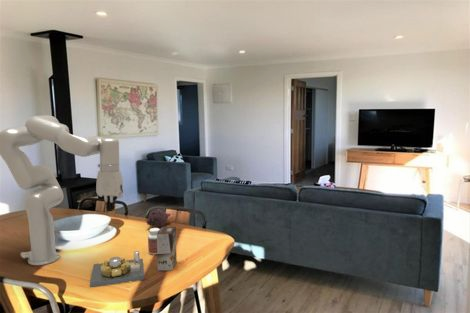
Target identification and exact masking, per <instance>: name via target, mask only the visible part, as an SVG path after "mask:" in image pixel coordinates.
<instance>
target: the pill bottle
mask: <svg viewBox="0 0 470 313" xmlns="http://www.w3.org/2000/svg"><path fill="white" fill-rule="evenodd" d="M160 229H161V228H158V227H153V228H149V230H148V232H149V234H148V235H147V248H148V254H150V255H157V233H158V231H159V230H160Z"/></svg>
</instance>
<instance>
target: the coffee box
mask: <svg viewBox="0 0 470 313" xmlns="http://www.w3.org/2000/svg"><path fill="white" fill-rule="evenodd" d="M160 227H161V228H159V229H160V230H159V231H158V233H157V254H156V255H157V256H156V257H157V271H173V270H174V267H175V265H176V263H177V260H178V259H177V256H178V255H177V227H176V226H160Z"/></svg>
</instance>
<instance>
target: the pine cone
mask: <svg viewBox="0 0 470 313" xmlns="http://www.w3.org/2000/svg"><path fill="white" fill-rule="evenodd" d="M169 217H171V213H166V212H165V211H164V210H163V209H160V208H156V209H153V210H151V212H150V214H149V216H148V217H147V220H146V224H147V225H148V226H155V227H156V226H157V227H164V226H165V225H166V223H167V220H168V218H169Z"/></svg>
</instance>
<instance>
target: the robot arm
mask: <svg viewBox="0 0 470 313" xmlns="http://www.w3.org/2000/svg"><path fill="white" fill-rule="evenodd" d="M69 129H70V128H69V127H68V126H67V125H66V124H64V123H60V121H59V120H58V118H56V116H54V115H53V116H52V115H49V114H48V115H47V114H45V115H34V116H30V117H29V118H28V119H27V120H26V121H25V124H24V126H16V127H15V126H14V127H7V128H5V129H3V130H1V131H0V157H1V159H2V160H3V161H4V162H5V164H6V165H7V167H8V169H9V171H10V173H11V175H12V177H13V179H14V180H15V182H16V184H17V185H18V187H19V188H20V189H21V190H24V191H28V190H33V189H36V188H39V189H37V190H34V191H31V192H30V193H28V194H27V196H25V198H24V201H23V204H24V208H25V211H26V214H27V221H28V227H29V230H28V231H29V239H30V240H29V242H30V250H29V251H25V252H24V251H22V252H20V257H21V258H22V259H27V262H28V264H29V265H31V266H44V265H49V264H52V263H54V262H57V261H58V260H59V259H60V258H61V255H60V252H58V251H56V238H55V225H54V223H55V222H54V218H53V215H52V214H51V212H50V210H51V208H54V207H57V206H58V205H60V204H61V203H62V202H63V200H64V192H63V189H62V187H61V186H60V184H59V182H58V180H57V178H56V175H54V172H53V171H52V170H51V168H49V167H48V166H46V165H44V164H37V165H33V163H32V162H31V160H30V158H29V157H28V155H27V154H26V153H25V152H24V151H23V150H21V149H20V148H21V147H26V146H27V147H29V146H32V145H36V144H39V143H40V142H42V141H44V140H46V141H48V142H50V143H53V144H57V146H58V147H59V148H60V149H61V150H62V151H64V152H66V153H68V154H69V153H70V154H71V155H75V156H78V157H85V158H86V157H91V156H95V155H98V154H99V164H97V168H99V170H98V171H97V176H96V183H95V184H96V186H95V187H96V188H95V189H96V190H95V191H96V194H97V196H98V197H100V198H103V200H104V202H105V208H106V212H113V211H114V210H115V206H116V201H117V200H119V199H122V198H123V192H124V183H123V182H124V181H123V176H122V171H121V170H120V141H119V139H118V138H116V137H103V136H98V135H95V136H86V137H85V136H84V137H81V136H77V135H74V134H71V133H70V130H69Z"/></svg>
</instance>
